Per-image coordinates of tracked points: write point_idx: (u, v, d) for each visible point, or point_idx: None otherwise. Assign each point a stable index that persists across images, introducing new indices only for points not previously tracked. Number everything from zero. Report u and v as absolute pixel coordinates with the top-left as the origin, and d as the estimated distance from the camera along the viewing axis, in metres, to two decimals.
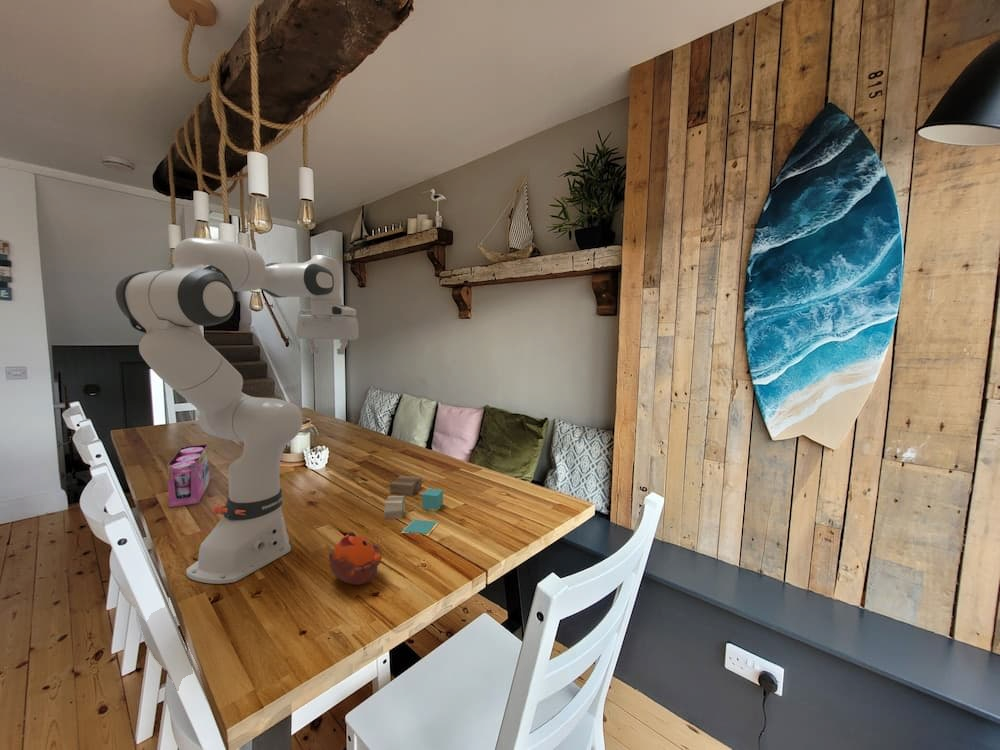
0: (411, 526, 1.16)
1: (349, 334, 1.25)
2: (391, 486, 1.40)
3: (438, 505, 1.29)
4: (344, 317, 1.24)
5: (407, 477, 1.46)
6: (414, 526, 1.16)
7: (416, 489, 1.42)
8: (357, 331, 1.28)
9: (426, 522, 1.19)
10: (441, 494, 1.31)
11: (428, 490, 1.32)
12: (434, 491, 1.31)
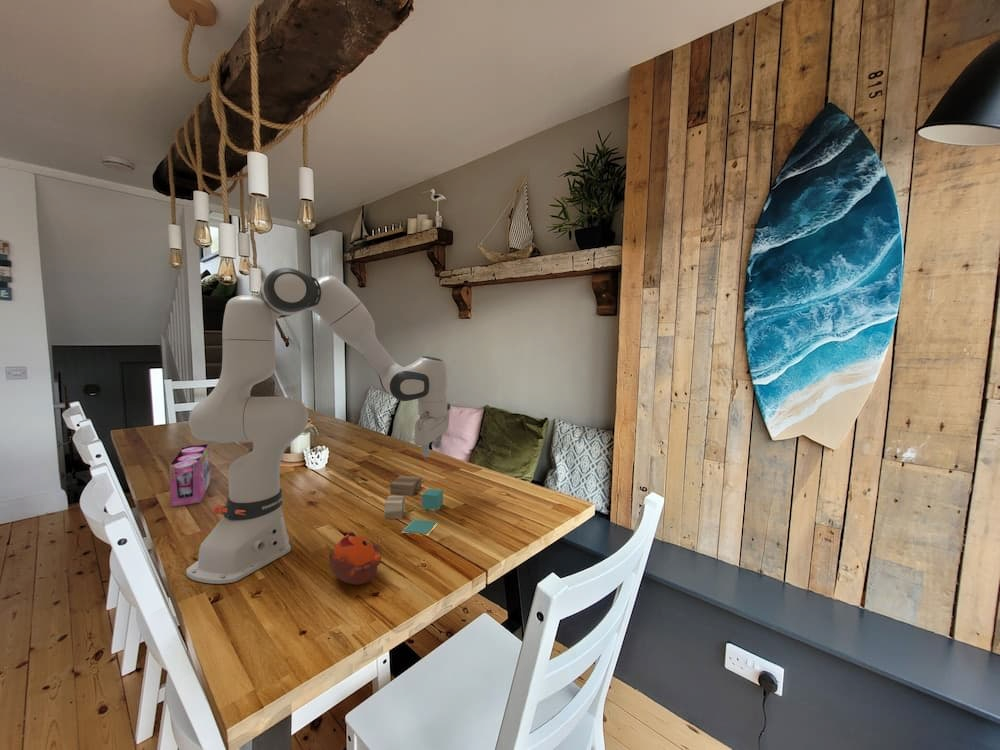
0: (411, 526, 1.16)
1: (447, 425, 1.37)
2: (391, 486, 1.40)
3: (438, 505, 1.29)
4: (448, 411, 1.35)
5: (406, 477, 1.46)
6: (414, 526, 1.16)
7: (416, 489, 1.43)
8: None
9: (426, 522, 1.19)
10: (441, 494, 1.31)
11: (428, 490, 1.32)
12: (434, 491, 1.31)
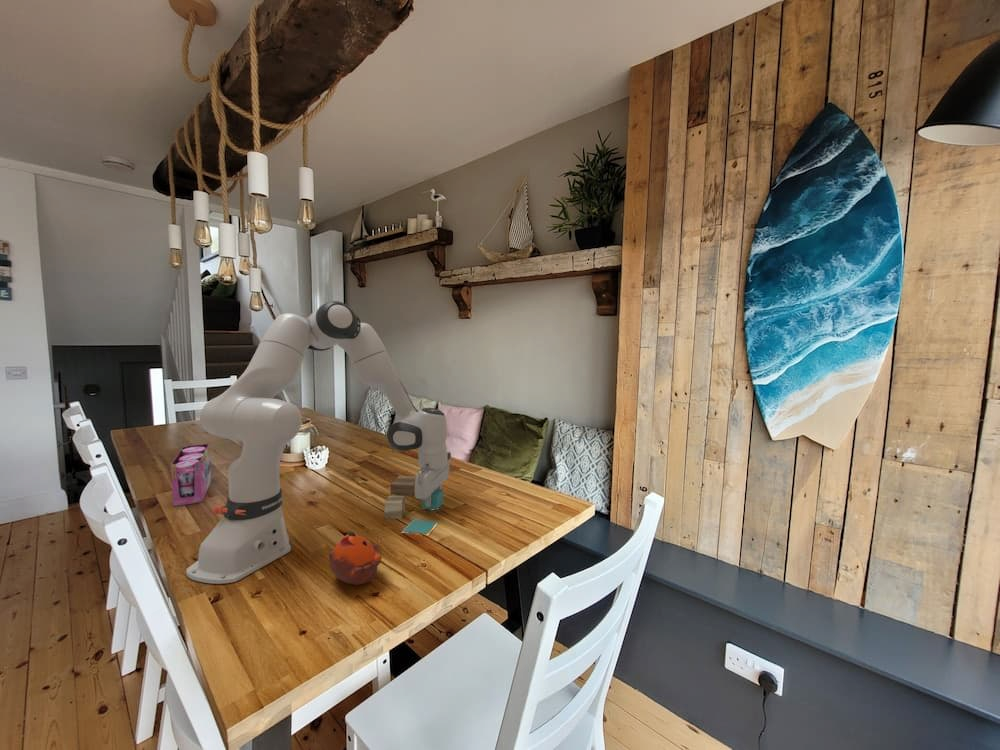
0: (411, 526, 1.16)
1: (448, 473, 1.38)
2: (392, 486, 1.40)
3: (438, 505, 1.29)
4: (448, 459, 1.36)
5: (406, 477, 1.46)
6: (414, 526, 1.16)
7: None
8: None
9: (426, 522, 1.19)
10: (441, 494, 1.31)
11: None
12: (434, 491, 1.31)
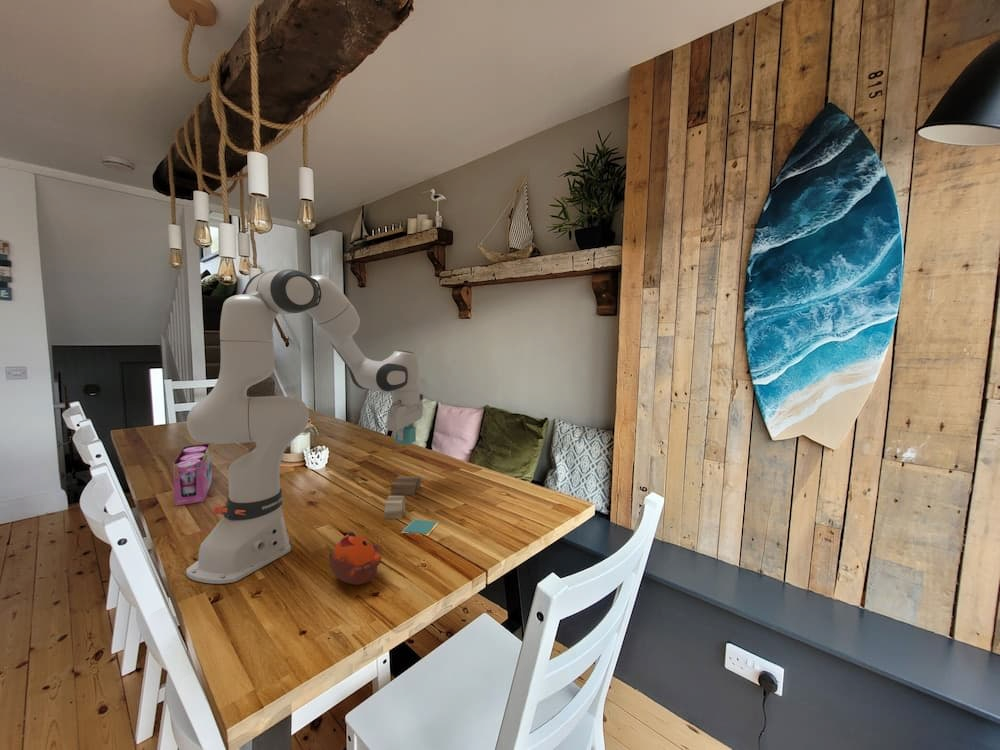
0: (411, 526, 1.16)
1: (421, 414, 1.49)
2: (392, 487, 1.40)
3: (410, 439, 1.39)
4: (421, 401, 1.47)
5: (405, 477, 1.46)
6: (414, 526, 1.16)
7: (417, 488, 1.43)
8: None
9: (426, 522, 1.19)
10: (414, 430, 1.42)
11: None
12: (407, 427, 1.41)
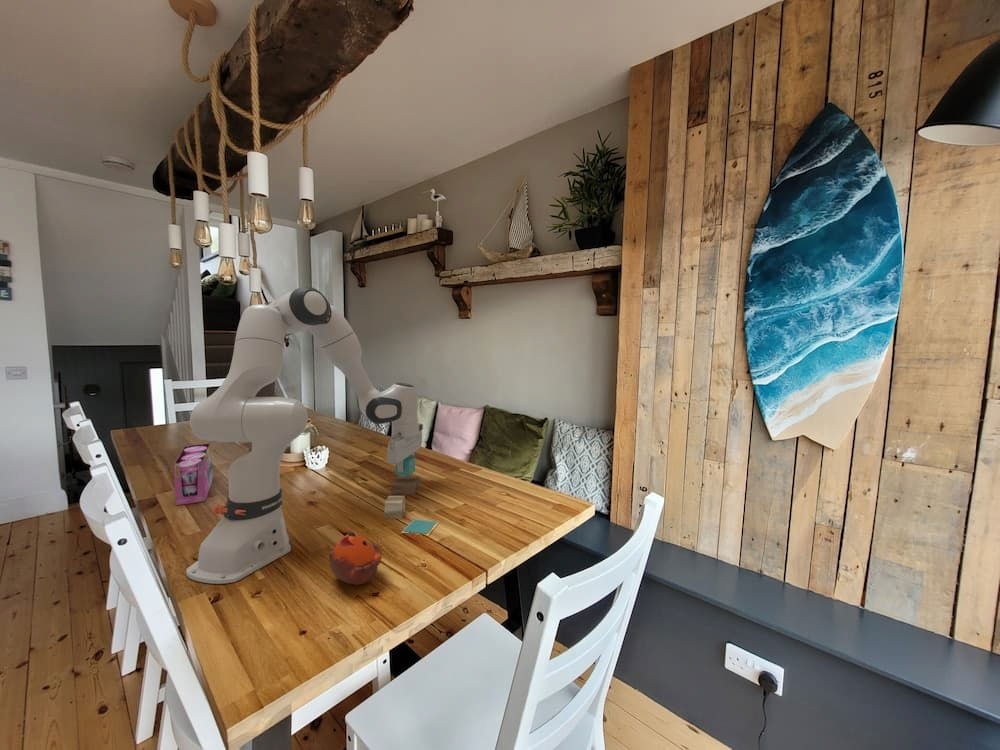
0: (411, 526, 1.16)
1: (420, 444, 1.51)
2: (393, 487, 1.39)
3: (410, 470, 1.41)
4: (421, 431, 1.49)
5: (405, 477, 1.46)
6: (414, 526, 1.16)
7: (417, 488, 1.43)
8: None
9: (426, 522, 1.19)
10: (413, 461, 1.43)
11: None
12: (406, 458, 1.43)
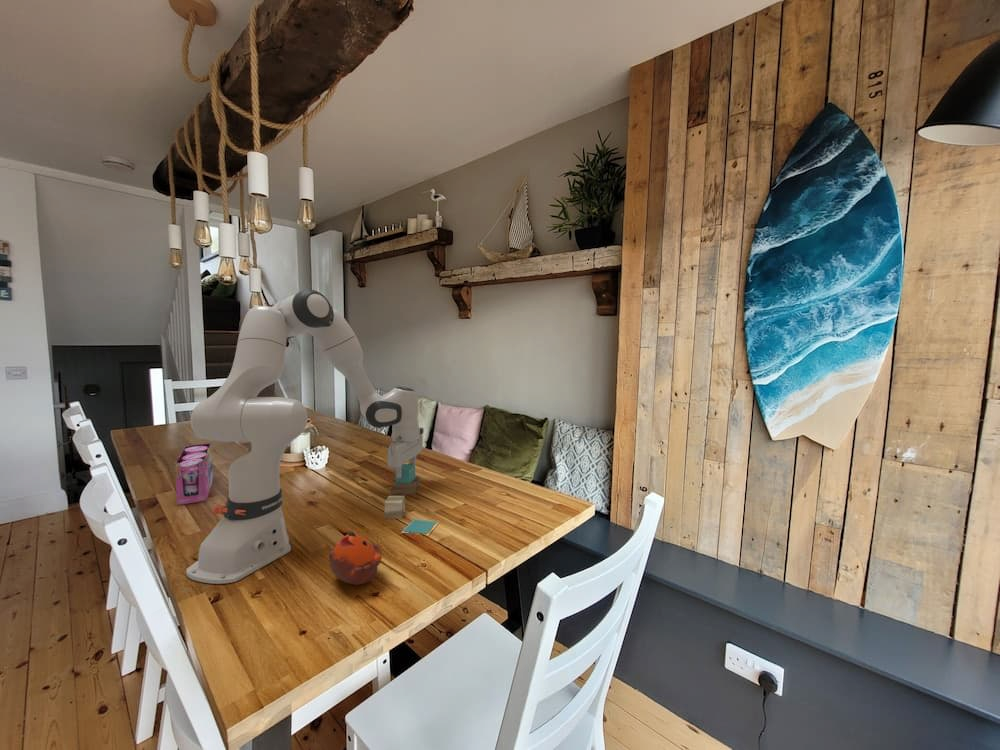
0: (411, 526, 1.16)
1: (421, 448, 1.50)
2: (393, 487, 1.39)
3: (410, 478, 1.41)
4: (421, 435, 1.49)
5: None
6: (414, 526, 1.16)
7: (417, 488, 1.43)
8: None
9: (426, 522, 1.19)
10: (413, 468, 1.43)
11: None
12: (406, 466, 1.43)
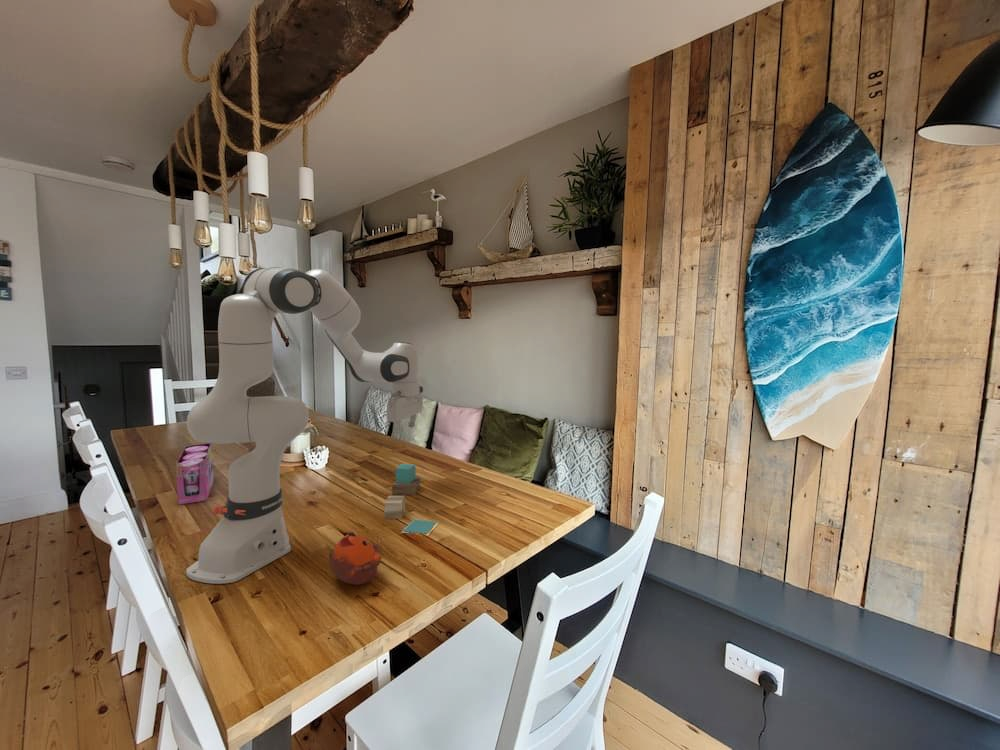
0: (411, 526, 1.16)
1: (421, 408, 1.49)
2: (393, 487, 1.39)
3: (410, 478, 1.41)
4: (421, 394, 1.47)
5: None
6: (414, 526, 1.16)
7: (417, 488, 1.43)
8: None
9: (426, 522, 1.19)
10: (413, 468, 1.43)
11: (402, 465, 1.44)
12: (407, 466, 1.43)
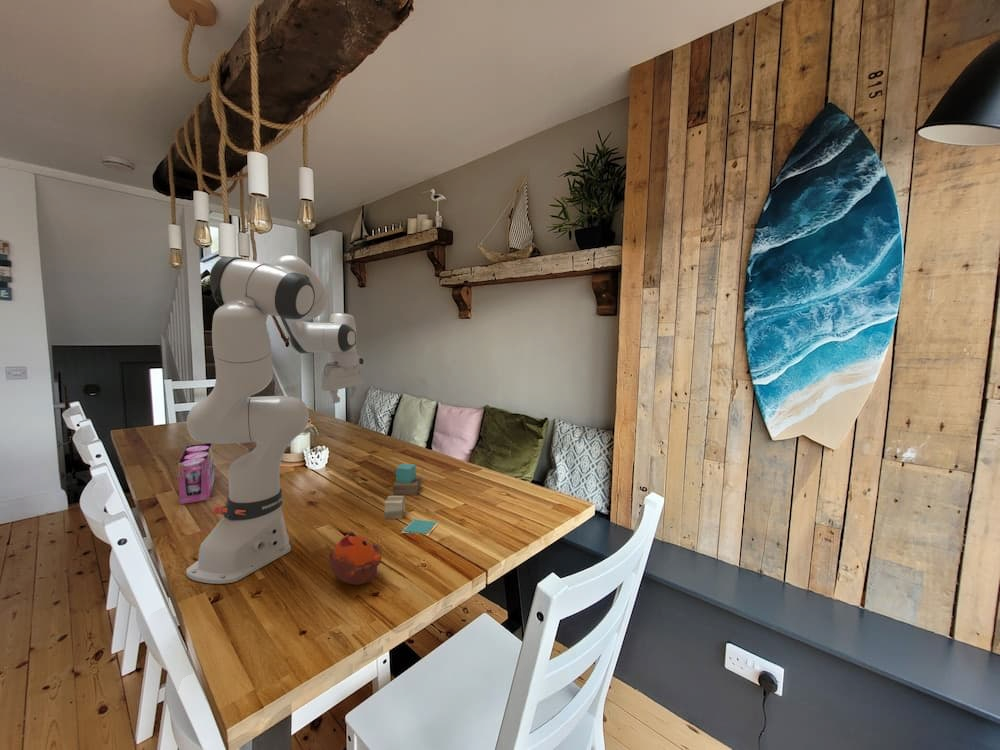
0: (411, 526, 1.16)
1: (363, 379, 1.51)
2: (394, 487, 1.39)
3: (410, 478, 1.41)
4: (362, 365, 1.49)
5: None
6: (414, 526, 1.16)
7: (418, 488, 1.43)
8: None
9: (426, 522, 1.19)
10: (414, 468, 1.43)
11: (402, 465, 1.44)
12: (407, 466, 1.43)
